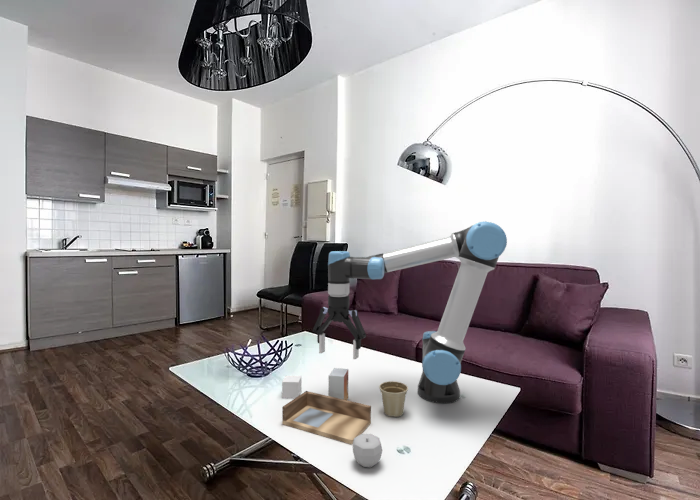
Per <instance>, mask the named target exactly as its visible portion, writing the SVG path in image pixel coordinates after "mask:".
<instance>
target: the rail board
mask: <svg viewBox="0 0 700 500" xmlns="http://www.w3.org/2000/svg"><path fill="white" fill-rule="evenodd" d="M281 414H282V417H281V418H282V419H281V420H282V421H281V422H282V424H281V425H284V426H288V427H291V428H294V429H297V430H300V431H304V432H308V433H311V434H315V435H319V436H321V437H323V438H328V439H331V440H335V441H338V442H341V443H345V444H348V445H352V444H353V441H354V438H355V437H357V436H359V435H360V434H364V432H365V431H366V430H367V428H368V427H369V426H370V425H371V424H372V406H371V405H368V404H366V403H365V404H364V403H360V402H355V401H352V400H348V399H347V400H343V399H339V398H335V397H330V396H329V395H325V394H323V393H322V394H321V393H316V392H313V391H308V390H305V391H304V392H303V393H302V392H301V394H300V395H299V396H298V397H296V398H292V400H290V401H289V402H287V403H285V405H282V413H281ZM352 446H353V445H352Z"/></svg>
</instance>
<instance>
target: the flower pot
mask: <svg viewBox="0 0 700 500" xmlns="http://www.w3.org/2000/svg"><path fill="white" fill-rule="evenodd" d="M378 387H379V391H380V393H381V397H382V406H383V413H384V414H385V415H386V416H388V417H394V418H398V417H401V416H403V414H404V411H405V409H404V408H405V402H406V401H405V400H406V395H407V393H408V390H409V386H407V384H405V383H403V382H401V381H394V380H391V381H390V380H389V381H384V382H382V383H380V384H379V386H378Z"/></svg>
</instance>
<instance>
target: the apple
mask: <svg viewBox="0 0 700 500" xmlns="http://www.w3.org/2000/svg"><path fill="white" fill-rule="evenodd" d="M352 454H353V456H354V460H355V461H356V463H358V465H360V466H362V467H363V468H372V467H374V466H375V465H376V464H378V463H379V462H380V460H381V458H382V454H383V447H382V443H381V439H380V437H378V436H376V435H375V434H373V433H362V434H360V435H359V436H357V437H355V438H354V441H353V444H352Z"/></svg>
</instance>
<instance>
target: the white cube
mask: <svg viewBox="0 0 700 500" xmlns="http://www.w3.org/2000/svg"><path fill="white" fill-rule="evenodd" d="M301 394H302V375H285V376H284V378H283V380H282V382H281V397H282V398H281V399H295V398H296V397H298V396H299V395H301Z"/></svg>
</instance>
